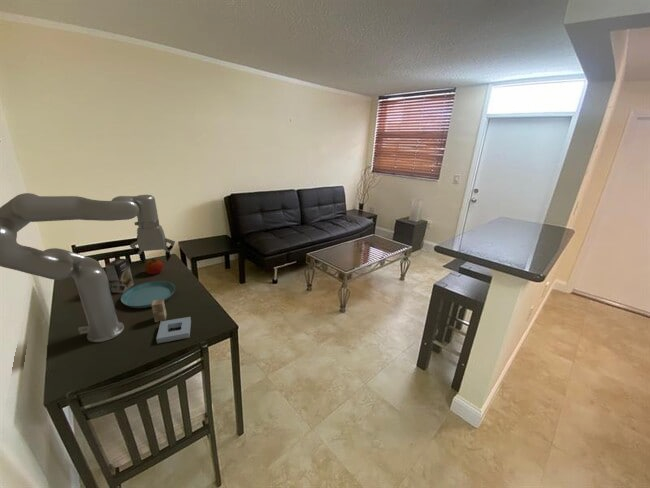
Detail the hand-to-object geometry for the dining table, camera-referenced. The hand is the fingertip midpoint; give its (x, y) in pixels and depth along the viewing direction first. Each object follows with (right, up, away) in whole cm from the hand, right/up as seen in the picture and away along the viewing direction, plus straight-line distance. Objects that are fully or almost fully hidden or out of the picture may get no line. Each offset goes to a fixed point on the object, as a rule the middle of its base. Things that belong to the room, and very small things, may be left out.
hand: (156, 260), depth 127 cm
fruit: (-28, -11, +46) cm, 55 cm away
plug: (0, -27, +4) cm, 28 cm away
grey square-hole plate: (+11, -31, -4) cm, 33 cm away
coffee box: (-34, -17, +27) cm, 47 cm away
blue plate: (-15, -21, +20) cm, 33 cm away
